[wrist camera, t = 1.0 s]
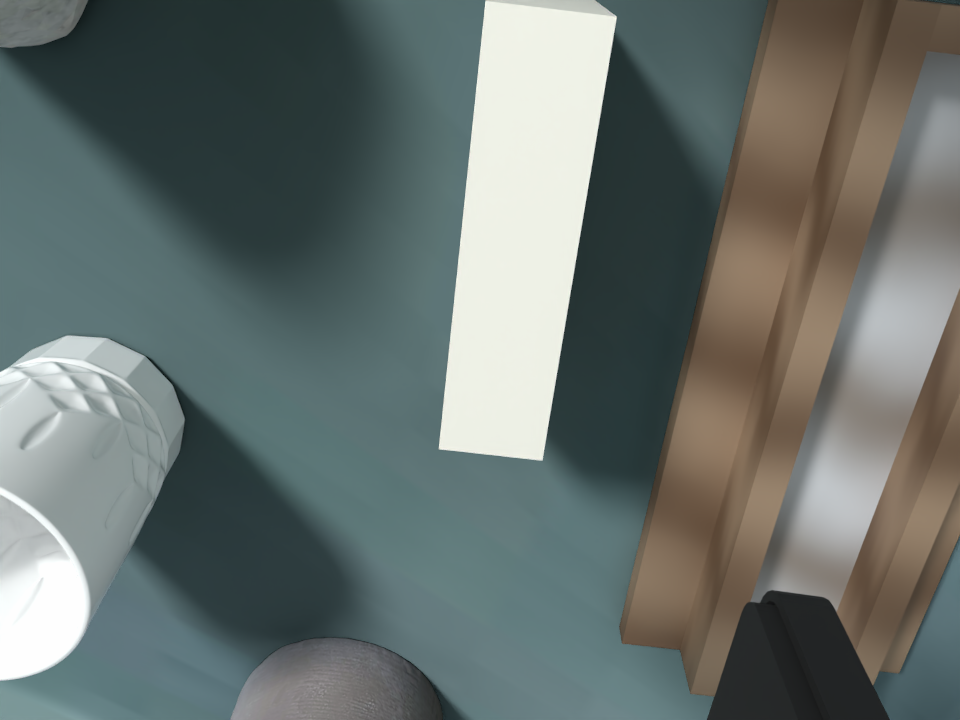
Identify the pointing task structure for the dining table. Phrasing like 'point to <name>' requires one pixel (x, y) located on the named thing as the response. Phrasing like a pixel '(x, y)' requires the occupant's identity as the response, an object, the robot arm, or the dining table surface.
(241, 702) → the pillar candle
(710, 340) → the track frame
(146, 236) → the dining table surface
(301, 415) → the dining table surface
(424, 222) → the dining table surface
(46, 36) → the decorative stone
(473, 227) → the white rectangular block
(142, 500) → the white cup
